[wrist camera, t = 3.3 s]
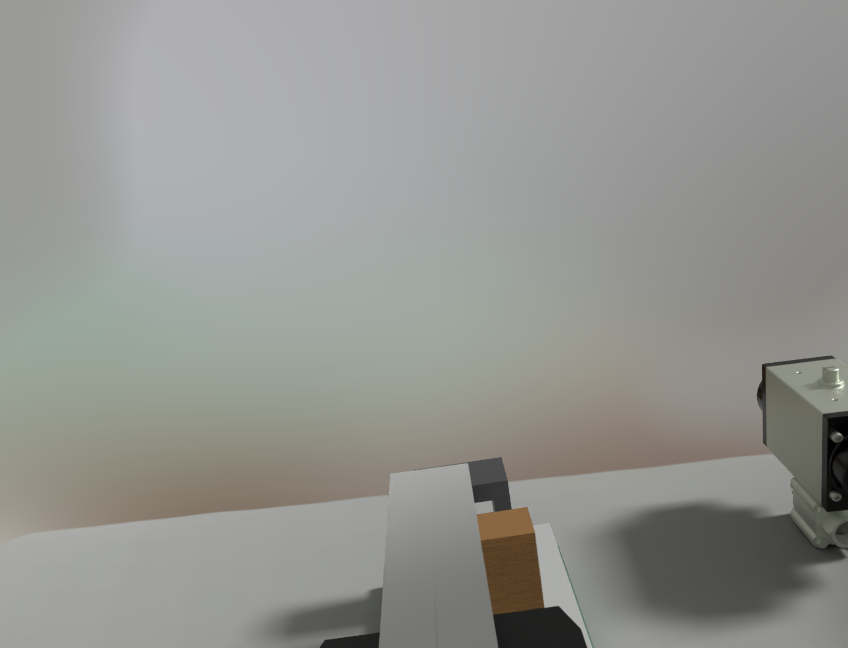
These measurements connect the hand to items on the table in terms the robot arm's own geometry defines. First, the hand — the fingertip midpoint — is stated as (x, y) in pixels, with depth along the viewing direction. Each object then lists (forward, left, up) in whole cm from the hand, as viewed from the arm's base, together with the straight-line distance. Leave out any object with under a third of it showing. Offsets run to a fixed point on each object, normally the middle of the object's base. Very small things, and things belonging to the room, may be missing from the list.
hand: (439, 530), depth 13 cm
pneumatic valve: (-37, -2, -23) cm, 44 cm away
